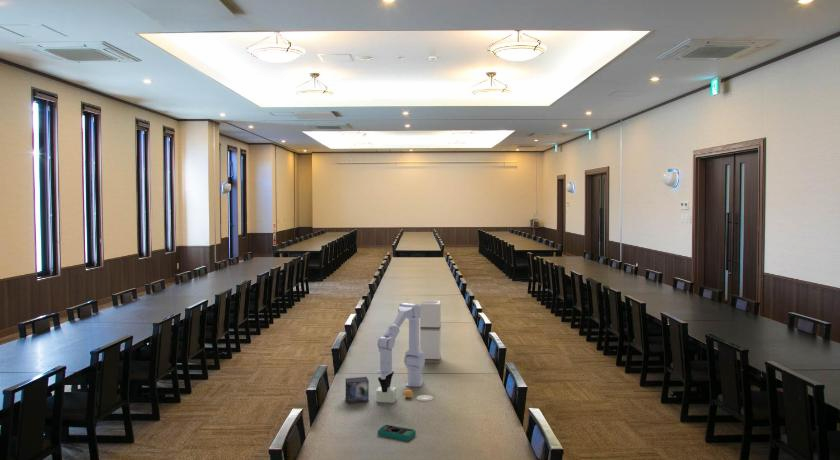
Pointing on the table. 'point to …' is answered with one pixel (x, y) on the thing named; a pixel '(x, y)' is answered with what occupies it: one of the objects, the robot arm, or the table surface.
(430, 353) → the white rectangular tower
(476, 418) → the table surface
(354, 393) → the small box
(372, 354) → the table surface
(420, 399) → the white round disc
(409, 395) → the ball
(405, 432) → the digital multimeter
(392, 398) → the pale green block
